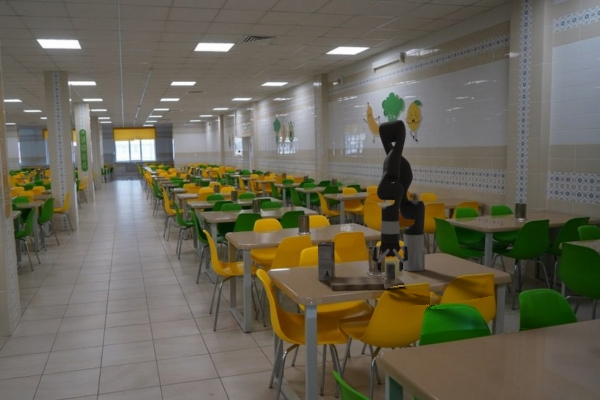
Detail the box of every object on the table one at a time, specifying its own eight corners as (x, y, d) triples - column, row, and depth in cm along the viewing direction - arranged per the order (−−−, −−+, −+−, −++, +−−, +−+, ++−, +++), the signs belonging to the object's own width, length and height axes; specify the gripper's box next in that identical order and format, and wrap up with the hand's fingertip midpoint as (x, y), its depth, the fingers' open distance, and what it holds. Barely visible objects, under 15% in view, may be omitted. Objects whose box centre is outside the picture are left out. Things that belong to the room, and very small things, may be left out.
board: (396, 280, 230) (396, 275, 230) (404, 288, 216) (404, 283, 216) (328, 282, 228) (328, 277, 228) (332, 290, 214) (331, 285, 214)
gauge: (390, 281, 226) (390, 258, 225) (397, 288, 213) (397, 264, 212) (378, 281, 226) (378, 258, 225) (385, 289, 213) (385, 264, 212)
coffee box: (321, 275, 240) (320, 241, 239) (335, 276, 239) (334, 241, 238) (318, 280, 232) (317, 244, 230) (332, 281, 230) (332, 244, 229)
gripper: (405, 230, 217) (404, 269, 218) (371, 230, 216) (371, 269, 217) (409, 232, 209) (409, 272, 210) (374, 233, 209) (374, 273, 210)
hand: (390, 271), depth 214 cm, fingers open, 8 cm apart
